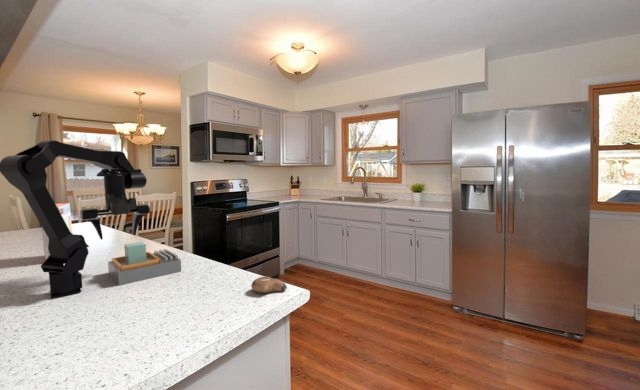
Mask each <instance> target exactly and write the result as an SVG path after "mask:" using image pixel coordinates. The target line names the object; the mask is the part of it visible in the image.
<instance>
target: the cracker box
mask: <svg viewBox="0 0 640 390" xmlns="http://www.w3.org/2000/svg"><path fill="white" fill-rule="evenodd" d="M55 204H56V206H57V208H58V210H59V212H60V214H61V215H62V217H63V219H64V221H65V223H66V225H67V227H68V229H69V230H70V232H71V233H72V234H73V226H72V225H73V224H72V216H71V215H72V214H71V204H70V203H69V202H67V203H64V202H63V203H55ZM41 233H42V241H43V252H44V261H45V260H46V259H47V258H48V257H49V255H50V253H49V250H48V244H49V238H48V236H47V235H46V233H45V231H44V229H43V228H42V227H41Z"/></svg>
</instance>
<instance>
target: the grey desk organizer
mask: <svg viewBox="0 0 640 390" xmlns="http://www.w3.org/2000/svg"><path fill="white" fill-rule="evenodd" d="M146 259H147V261H144V262H139V263H134V264H129V265H128V264H127V263H126V262H125V255H123V256H118V257H112V258H111V260H110V261H107V266H108V267H107V268H108V275H110V277H111V278H112V279H113V280H114V282H115V283H116V284H117V285H118V286H123V285H126V284H131V283H132V284H133V283H135V282H139V281H145V280H149V279H154V278H158V277H162V276H163V277H164V276H167V275H172V274H175V273H179V272H182V259H180V258H179V256H178V254H176V253H174V252H172V251H171V250H169V249H167V248H166V249H165V248H163V250H162V249H159V250H158V251H157V250H153V253H152V252H150V251H146Z"/></svg>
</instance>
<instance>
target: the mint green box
mask: <svg viewBox="0 0 640 390" xmlns="http://www.w3.org/2000/svg"><path fill="white" fill-rule="evenodd" d="M123 245H124V256H125V262H126V263H127V264H128V265H129V264H134V263H139V262H144V261H147V259H146V252H147V246H146V245H147V244H146V243H144V242H143V241H140V242H139V241H137V242H130V243H124V244H123Z"/></svg>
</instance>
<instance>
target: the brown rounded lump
mask: <svg viewBox="0 0 640 390" xmlns="http://www.w3.org/2000/svg"><path fill="white" fill-rule="evenodd" d="M250 287H251V289H252V290H253V291H254V292H255V293H259V294H266V293H272V292H283V291H284V290H287V289H288V287H287V285H286V283H285V282H284V281H282V280H280V279H277V278H272V277H269V276H259V277H257V278H255V279H254V280H253V281H252V283H251V285H250Z"/></svg>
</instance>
